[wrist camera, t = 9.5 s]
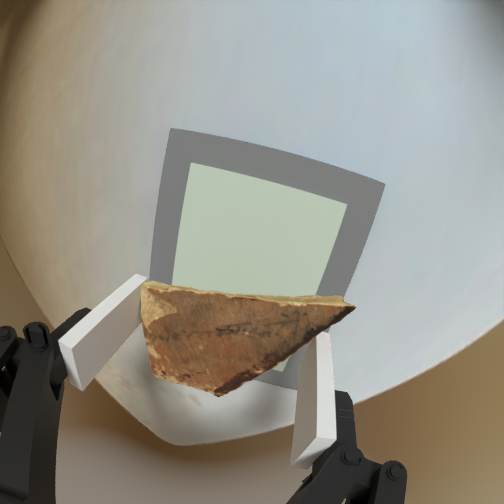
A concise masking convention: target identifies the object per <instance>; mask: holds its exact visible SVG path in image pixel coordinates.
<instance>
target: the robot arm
mask: <svg viewBox="0 0 504 504" xmlns="http://www.w3.org/2000/svg"><path fill="white" fill-rule="evenodd" d="M147 279H148V278H146V277H143V276H141V275H138V274H135V275H134V276H133V277H131V278H130V279H129V280H128V281H126V282H125V283H124V284H123V285H122V286H120V287H119V288H118V289H117V290H116V291H114V292H113V293H112V294H111V295H110V296H108V297H107V298H106V299H105V300H104V301H102V302H101V303H100V304H99V305H98V306H97V307H95V308H94V309H93V310H90V309H88V308H84V309H81V310H78V311H77V312H75V313H74V314H73V315H72V316H71V317H69V318H68V319H67V320H66V321H65V322H63V323H62V324H61V325H60V326H59V327H58V328H56V329H55V330H54V331H53V332H52V333H51V334H50V332H49V329H48V327H47V325H45V324H44V323H41V322H32V323H29V324H28V325H26V326H25V327H24V329H23V332H24V336H25V339H23V338H20V337H17V334H16V331H15V329H14V328H12V327H10V326H2V327H0V432H1V435H0V504H56V499H55V469H56V450H57V437H58V428H59V419H60V411H61V404H62V398H63V392H64V379H65V378H66V377H67V376H68V378H69V381H70V384H72V385H73V386H75V387H77V388H78V389H80V390H81V391H83V390H84V389H85V388H86V387H87V385H88V384H89V383H90V382H91V381H92V379H93V378H94V377H95V376H96V375H97V373H98V372H99V371H100V370H101V369H102V367H103V366H104V365H105V364H106V363H107V362H108V360H109V359H110V358H111V357H112V356H113V354H114V353H115V352H116V351H117V350H118V349H119V347H120V346H121V345H122V344H123V343H124V342H125V340H126V339H127V338H128V337H129V336H130V335H131V334H132V332H133V331H134V330H135V329H136V328H137V327H138V325H139V324H140V323H141V298H140V297H141V289H142V286H143V284H144V283H145V282H147ZM4 366H5V368H4V369H3V370H2V368H3V367H4ZM312 464H313V467H312V473H311V474H310V475H309V476H308V477H306V478H305V479H304V480H303V481H302V482H303V484H302V485H301V486H300V487H299V489H298V490H297V491H296V492H295V494H294V495H293V496H292V497H291V499H290V500H289V501H288V502H287V503H286V504H341V503H342V502H343V500H344V499H345V498H346V501H345V504H404V500H405V492H406V483H407V482H406V481H407V470H406V469H405V467H404V466H403V465H402V464H401V463H400V462H397V461H388V462H386V463H384V464H383V465H382V464H379V463H376V462H373V461H370V460H368V459H366V458H365V457H364V455H363V453H362V452H361V450H359V449H358V448H357V444H356V433H355V422H354V413H353V402H352V400H351V398H350V396H349V394H348V393H347V392H342V391H337V390H334V377H333V364H332V352H331V342H330V333H326V332H321V333H320V334H318V335H317V336H316V337H314V338H313V339H312V340H311V342H310V345H309V347H308V349H307V351H306V353H305V355H304V357H303V359H302V361H301V363H300V365H299V374H298V389H297V402H296V414H295V425H294V435H293V445H292V454H291V463H290V467H296V468H303V469H308V468H309V467H310V466H311V465H312Z"/></svg>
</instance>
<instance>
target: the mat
mask: <svg viewBox="0 0 504 504" xmlns="http://www.w3.org/2000/svg"><path fill="white" fill-rule="evenodd" d="M384 187H385V184H384V183H382V182H379V181H376V180H374V179H371V178H368V177H365V176H362V175H360V174H357V173H354V172H351V171H348V170H345V169H342V168H339V167H336V166H333V165H329V164H326V163H323V162H320V161H316V160H313V159H310V158H306V157H303V156H299V155H296V154H292V153H288V152H285V151H281V150H277V149H273V148H269V147H265V146H261V145H257V144H252V143H248V142H244V141H239V140H234V139H230V138H225V137H220V136H215V135H209V134H204V133H198V132H193V131H187V130H180V129H173V128H171V129H170V134H169V139H168V144H167V149H166V154H165V160H164V165H163V171H162V177H161V183H160V189H159V196H158V203H157V210H156V218H155V226H154V235H153V244H152V254H151V266H150V279H149V281H156V282H160V283H165V284H168V285H174V286H187V287H191V288H194V289H198V290H205V291H219V292H223V293H228V294H244V295H246V294H256V295H272V296H292V297H297V296H305V295H317V296H323V297H329V296H333V295H339V296H342V297H343V298H344V295H345V293H346V291H347V288H348V286H349V283H350V281H351V279H352V276H353V274H354V271H355V269H356V266H357V264H358V261H359V259H360V256H361V254H362V251H363V248H364V246H365V243H366V240H367V238H368V235H369V232H370V229H371V226H372V224H373V221H374V218H375V215H376V212H377V209H378V206H379V203H380V200H381V197H382V193H383V190H384ZM329 328H330V327H329ZM329 328H328V329H326V330H324V331H322V332H326V333H328V331H329ZM310 342H311V341H310ZM310 342H309V343H308V344H306V345H305V346H304V347H303V348H301V349H300V350H299V351H297V352H296V353H295V354H294V355H292V356H290V357H289V358H287V359H286V360H285V361H283V362H281V363H280V364H279V365H277V366H276V367H274V368H273V369H271V370H269V371H267V372H265V373H263V374H261V375H260V376H258V377H256V378H255V379H254V380H258V381H262V382H266V383H270V384H274V385H278V386H282V387H286V388H290V389H295V390H297V389H298V374H299V365H300V363H301V361H302V359H303V357H304V355H305V353H306V351H307V349H308V347H309V345H310Z"/></svg>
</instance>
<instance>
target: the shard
mask: <svg viewBox="0 0 504 504" xmlns="http://www.w3.org/2000/svg"><path fill="white" fill-rule="evenodd" d="M140 298H141V322H142V325H143V332H144V337H145V339H146V345H147V348H148V353H149V356H150V363H151V369H152V373H153V374H154V375H155V376H156V377H157V378H159V379H162V380H165V381H170V382H174V383H178V384H184V385H187V386H190V387H193V388H196V389H200V390H203V391H206V392H210V393H212V394H214V395H215V396H217V397H220V396H223V395H224V394H227V393H229V392H230V391H233V390H235V389H237V388H239V387H240V386H242V385H243V384H244V383H245V382H247V381H251V380H253V379H255V378H256V377H258V376H260V375H261V374H263V373H265V372H267V371H269V370H271V369H273V368H274V367H276V366H277V365H279V364H280V363H281V362H283V361H285V360H286V359H287V358H289V357H290V356H292V355H294V354H295V353H296V352H297V351H299V350H300V349H301V348H303V347H304V346H305V345H306V344H308V343H309V342H310V341H311V340H312V339H313V338H314V337H316V336H317V335H318V334H320V333H321V332H322V331H324V330H326V329H328V328H329V327H330V326H331V325H333V324H336V323H337V322H340V321H341V320H342V319H343V318H344V317H345V316H346V315H348V314H349V313H350V312H352V311H353V310H355V308H356V307H355V306H354V305H350V304H348V303H346V302H344V299H343V297H342V296H339V295H333V296H329V297H323V296H317V295H305V296H297V297H292V296H272V295H256V294H246V295H244V294H228V293H223V292H219V291H205V290H198V289H194V288H191V287H187V286H174V285H168V284H165V283H160V282H156V281H148V282H145V283H144V284H143V286H142V289H141V297H140Z"/></svg>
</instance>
